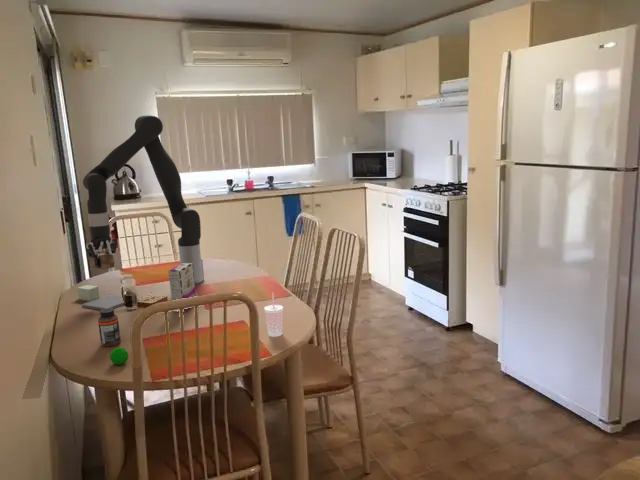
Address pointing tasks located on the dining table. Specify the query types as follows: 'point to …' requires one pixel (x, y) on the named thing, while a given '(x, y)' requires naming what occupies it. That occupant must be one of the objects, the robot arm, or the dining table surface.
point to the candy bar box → (182, 282)
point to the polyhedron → (119, 356)
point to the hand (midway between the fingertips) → (104, 265)
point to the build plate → (105, 302)
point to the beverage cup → (274, 319)
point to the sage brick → (88, 292)
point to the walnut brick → (105, 261)
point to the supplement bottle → (109, 328)
